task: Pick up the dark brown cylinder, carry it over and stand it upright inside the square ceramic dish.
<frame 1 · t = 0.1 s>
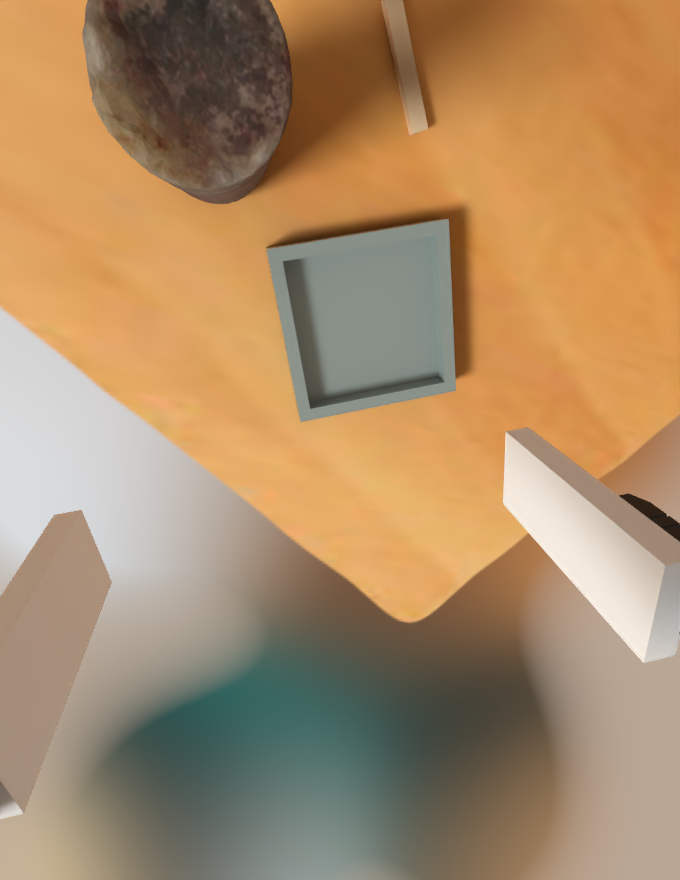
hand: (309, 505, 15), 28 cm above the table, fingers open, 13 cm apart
dark brown cylinder: (217, 147, 34), on the table
dish: (364, 321, 41), on the table
beige wooden bar: (402, 71, 35), on the table
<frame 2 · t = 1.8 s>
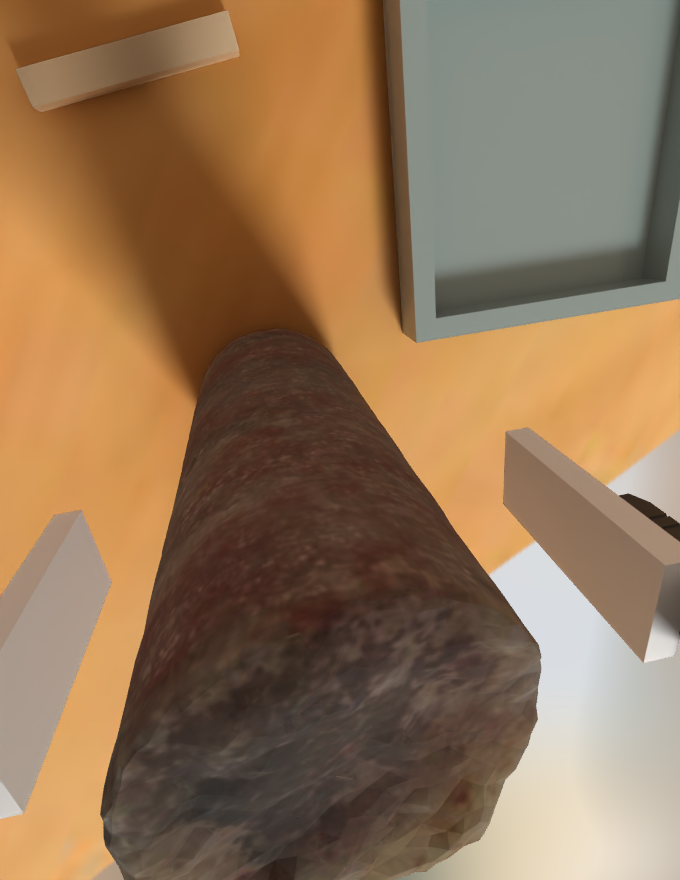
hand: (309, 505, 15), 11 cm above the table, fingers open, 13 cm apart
dark brown cylinder: (274, 391, 25), on the table
dish: (536, 162, 23), on the table
beige wooden bar: (136, 68, 19), on the table
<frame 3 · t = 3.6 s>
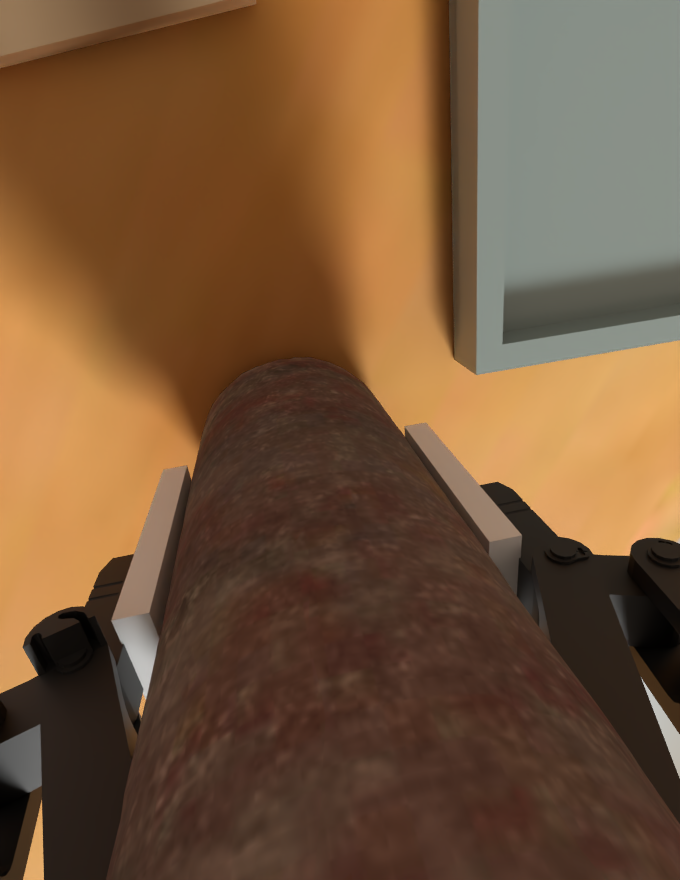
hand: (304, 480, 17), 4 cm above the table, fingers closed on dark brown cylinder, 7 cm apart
dark brown cylinder: (294, 430, 20), on the table, touching gripper
dish: (634, 144, 18), on the table
beige wooden bar: (118, 15, 14), on the table
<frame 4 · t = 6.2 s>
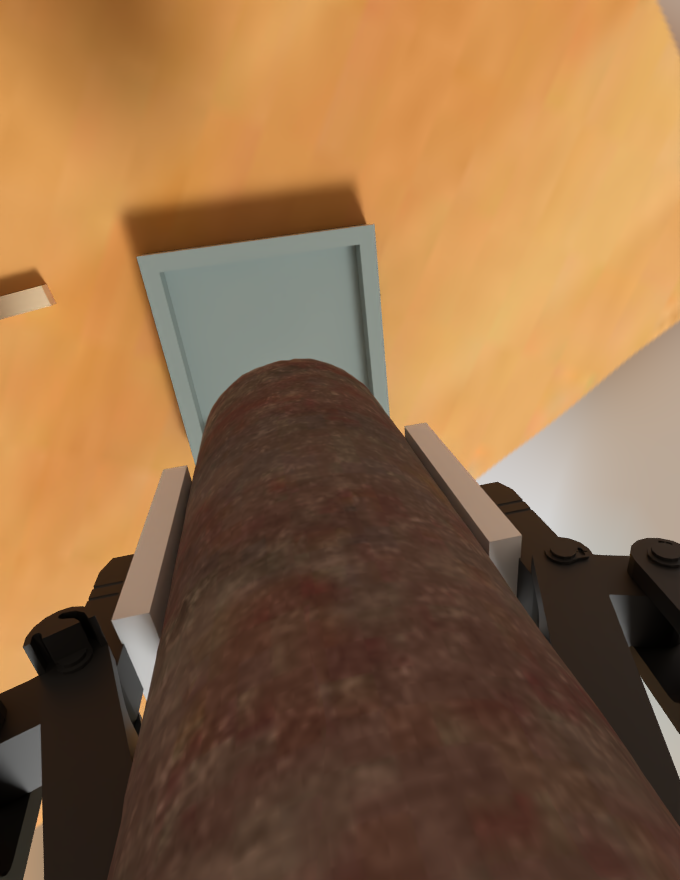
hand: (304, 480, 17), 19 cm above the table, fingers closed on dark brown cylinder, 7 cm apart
dark brown cylinder: (295, 431, 20), point 14 cm above the table, touching gripper
dish: (277, 347, 33), on the table
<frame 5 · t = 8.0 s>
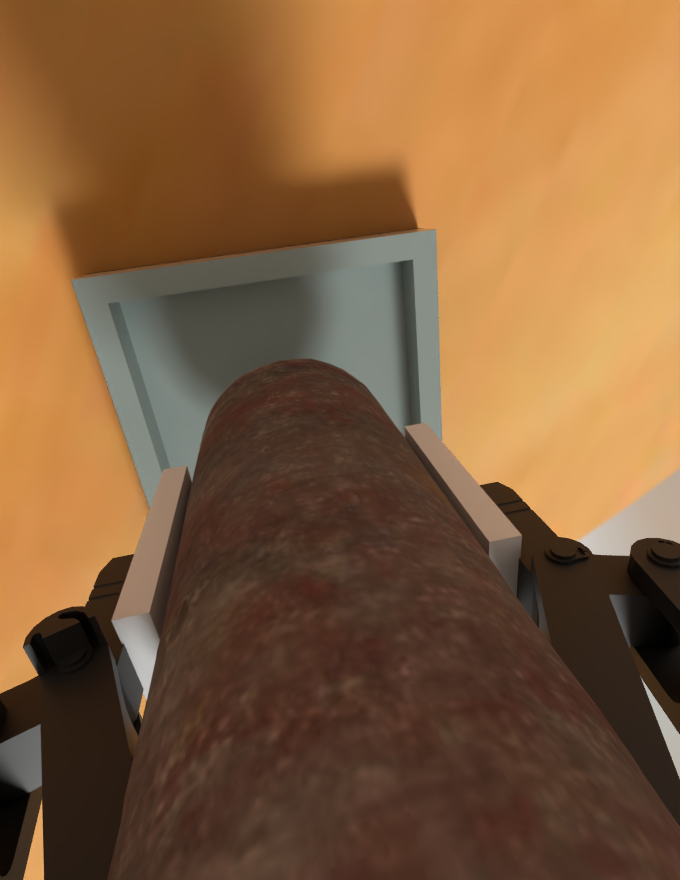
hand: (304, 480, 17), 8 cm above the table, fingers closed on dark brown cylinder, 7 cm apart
dark brown cylinder: (295, 431, 20), point 3 cm above the table, touching gripper
dish: (286, 403, 23), on the table
when the fingers open (6 cm above the table, at t = 9.3 s): dark brown cylinder drops 1 cm, resting on dish.
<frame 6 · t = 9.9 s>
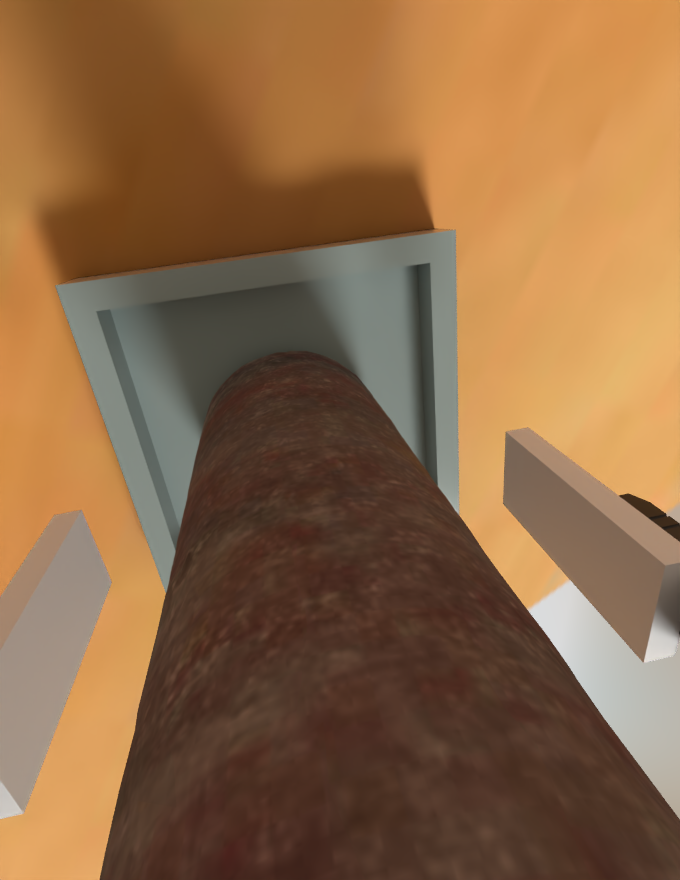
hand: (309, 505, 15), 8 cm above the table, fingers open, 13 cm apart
dark brown cylinder: (291, 421, 21), resting on dish
dish: (291, 416, 22), on the table
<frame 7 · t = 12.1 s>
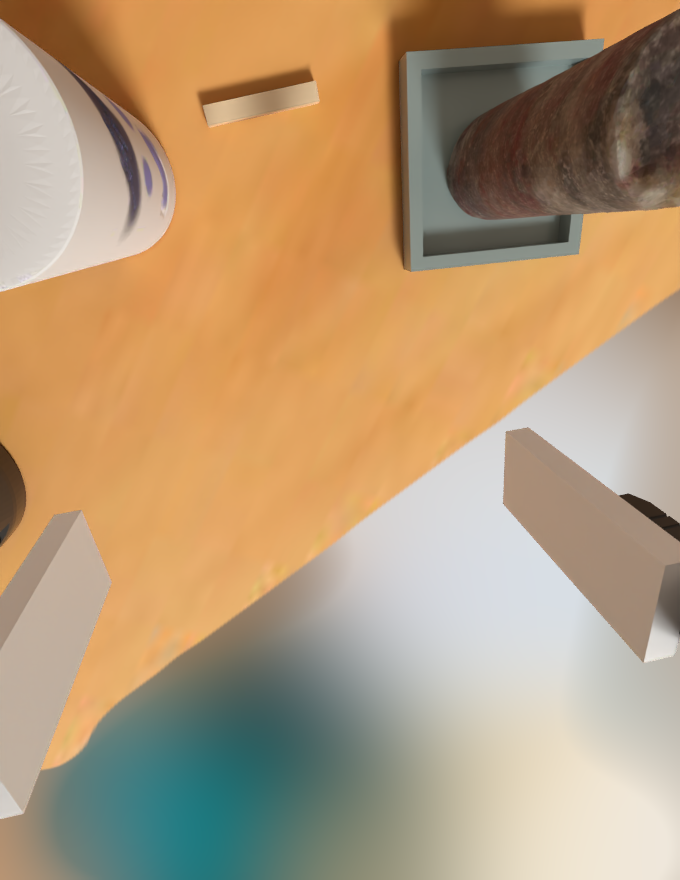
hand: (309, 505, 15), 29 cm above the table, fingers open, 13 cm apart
dark brown cylinder: (490, 166, 38), resting on dish
container: (105, 184, 35), on the table
dish: (489, 165, 38), on the table
beige wooden bar: (261, 106, 35), on the table
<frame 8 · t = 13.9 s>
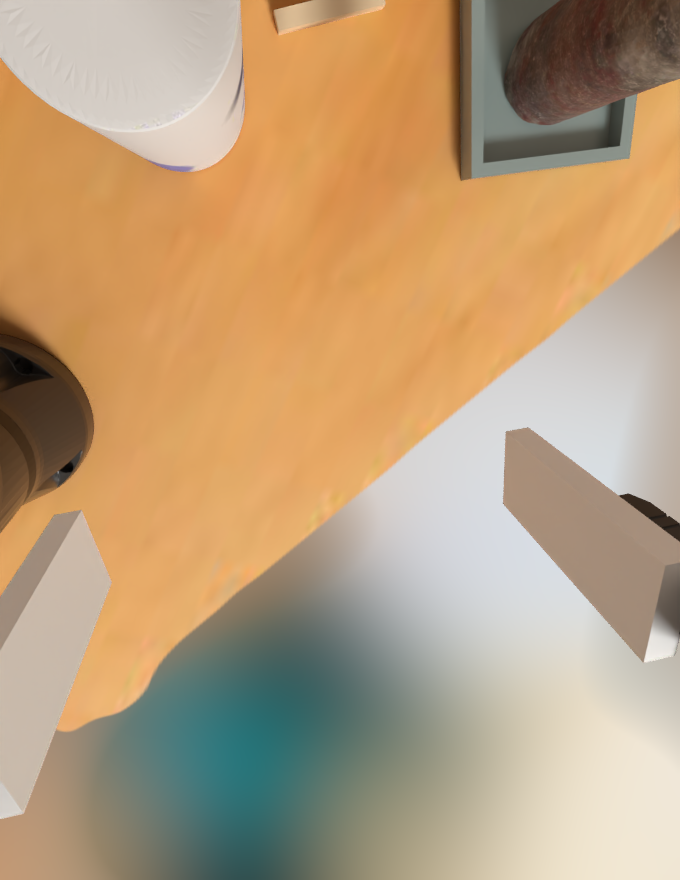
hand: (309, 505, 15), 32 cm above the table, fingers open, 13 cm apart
dark brown cylinder: (545, 71, 39), resting on dish
container: (176, 95, 36), on the table
dish: (542, 72, 39), on the table
beige wooden bar: (328, 13, 36), on the table
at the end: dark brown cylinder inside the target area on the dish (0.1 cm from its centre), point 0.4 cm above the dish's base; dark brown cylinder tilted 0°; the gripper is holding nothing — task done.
